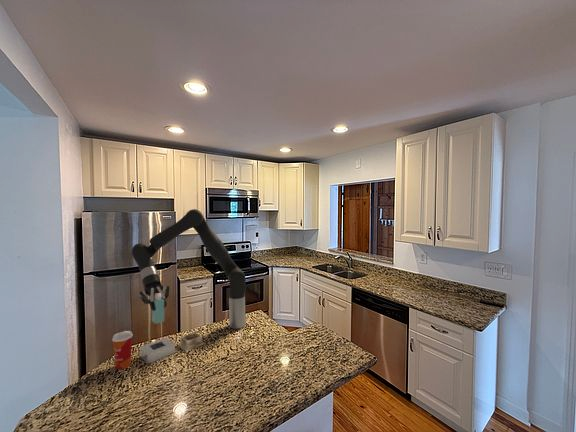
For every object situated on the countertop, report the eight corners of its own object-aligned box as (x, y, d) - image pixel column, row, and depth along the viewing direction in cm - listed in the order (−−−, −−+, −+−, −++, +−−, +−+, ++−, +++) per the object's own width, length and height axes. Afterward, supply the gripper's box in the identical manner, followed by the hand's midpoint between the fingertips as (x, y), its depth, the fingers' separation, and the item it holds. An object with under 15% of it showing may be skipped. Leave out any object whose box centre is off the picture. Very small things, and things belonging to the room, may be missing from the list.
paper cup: (111, 365, 113) (110, 334, 113) (131, 358, 119) (130, 328, 118) (115, 373, 108) (114, 340, 107) (135, 365, 113) (134, 334, 113)
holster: (195, 338, 137) (195, 330, 137) (205, 344, 130) (205, 336, 130) (177, 345, 129) (176, 337, 129) (186, 353, 122) (186, 344, 122)
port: (166, 346, 128) (166, 337, 128) (175, 354, 122) (174, 344, 121) (140, 357, 120) (139, 346, 120) (147, 365, 113) (147, 355, 113)
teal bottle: (161, 318, 124) (160, 291, 123) (164, 321, 121) (164, 293, 121) (152, 321, 121) (152, 293, 121) (155, 323, 118) (155, 295, 118)
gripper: (136, 276, 120) (145, 308, 112) (167, 271, 131) (177, 300, 123) (132, 285, 124) (141, 317, 116) (163, 279, 135) (172, 308, 126)
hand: (159, 308), depth 119 cm, fingers closed on teal bottle, 4 cm apart
